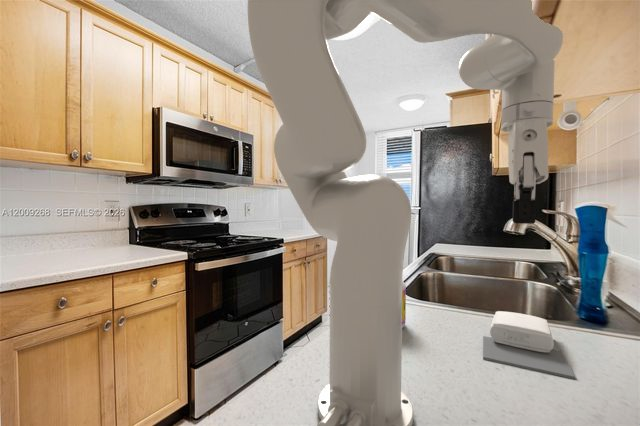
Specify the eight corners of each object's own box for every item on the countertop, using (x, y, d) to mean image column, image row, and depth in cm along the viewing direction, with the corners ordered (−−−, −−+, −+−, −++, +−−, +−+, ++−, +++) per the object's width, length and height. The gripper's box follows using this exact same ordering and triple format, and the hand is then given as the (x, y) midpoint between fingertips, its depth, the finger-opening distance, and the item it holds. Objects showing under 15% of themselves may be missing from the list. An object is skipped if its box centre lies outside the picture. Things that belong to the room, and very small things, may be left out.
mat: (575, 379, 48) (575, 376, 48) (483, 359, 54) (483, 356, 54) (561, 352, 57) (561, 350, 57) (483, 337, 63) (483, 335, 63)
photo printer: (489, 320, 60) (494, 306, 70) (488, 342, 60) (494, 325, 70) (554, 332, 54) (549, 315, 64) (553, 356, 54) (549, 336, 64)
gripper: (563, 102, 44) (559, 226, 45) (544, 126, 57) (542, 222, 58) (503, 109, 48) (500, 224, 48) (499, 131, 61) (497, 221, 61)
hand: (523, 223), depth 53 cm, fingers closed
